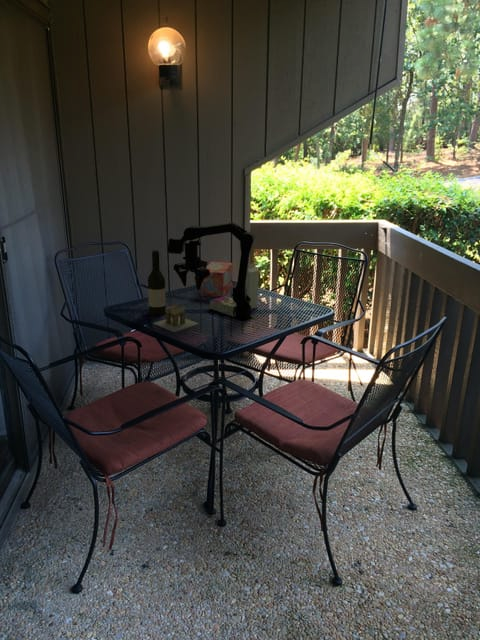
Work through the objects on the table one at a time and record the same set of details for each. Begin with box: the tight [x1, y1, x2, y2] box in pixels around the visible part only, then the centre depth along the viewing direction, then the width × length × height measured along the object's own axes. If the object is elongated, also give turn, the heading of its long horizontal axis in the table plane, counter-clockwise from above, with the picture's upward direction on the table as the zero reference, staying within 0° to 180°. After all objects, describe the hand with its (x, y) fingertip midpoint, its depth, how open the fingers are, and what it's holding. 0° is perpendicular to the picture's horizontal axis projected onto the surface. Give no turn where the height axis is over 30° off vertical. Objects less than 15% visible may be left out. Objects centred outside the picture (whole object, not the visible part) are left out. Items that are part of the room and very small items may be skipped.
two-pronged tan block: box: [165, 305, 186, 326], centre depth 217 cm, size 6×6×7 cm
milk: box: [246, 262, 260, 310], centre depth 241 cm, size 6×6×22 cm
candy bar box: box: [209, 295, 237, 318], centre depth 238 cm, size 11×5×16 cm
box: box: [200, 261, 233, 298], centre depth 270 cm, size 27×13×14 cm, turn 171°
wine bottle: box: [147, 249, 167, 317], centre depth 228 cm, size 8×8×30 cm
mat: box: [152, 315, 199, 333], centre depth 218 cm, size 14×14×1 cm
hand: (191, 288), depth 227 cm, fingers open, 9 cm apart
